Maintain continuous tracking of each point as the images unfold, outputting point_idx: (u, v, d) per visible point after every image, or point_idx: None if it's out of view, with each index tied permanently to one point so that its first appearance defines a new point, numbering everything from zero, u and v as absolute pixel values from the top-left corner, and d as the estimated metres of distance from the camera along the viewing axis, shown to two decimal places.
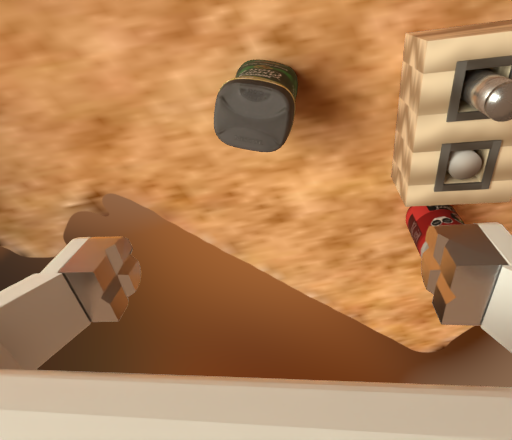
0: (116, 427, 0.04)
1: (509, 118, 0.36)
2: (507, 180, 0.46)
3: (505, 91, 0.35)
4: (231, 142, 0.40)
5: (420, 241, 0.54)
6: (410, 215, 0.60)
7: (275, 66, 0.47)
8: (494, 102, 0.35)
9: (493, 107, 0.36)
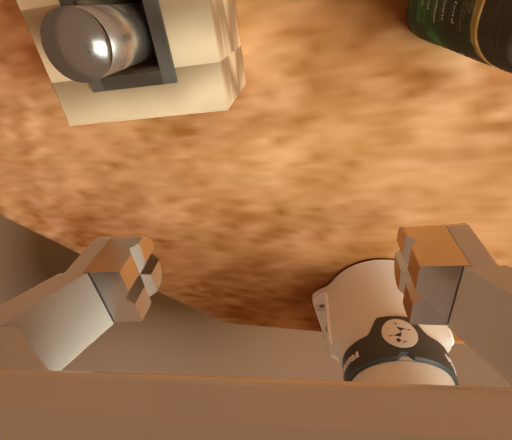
0: (116, 427, 0.04)
1: (52, 14, 0.19)
2: None
3: (90, 67, 0.20)
4: None
5: None
6: None
7: None
8: (95, 46, 0.20)
9: (91, 36, 0.19)
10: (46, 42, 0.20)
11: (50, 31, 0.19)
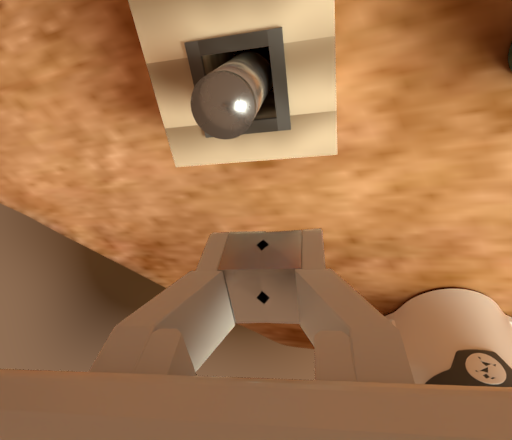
0: (116, 427, 0.04)
1: (207, 79, 0.20)
2: None
3: (234, 126, 0.21)
4: None
5: None
6: None
7: None
8: (243, 107, 0.20)
9: (242, 98, 0.20)
10: (195, 103, 0.21)
11: (201, 94, 0.20)
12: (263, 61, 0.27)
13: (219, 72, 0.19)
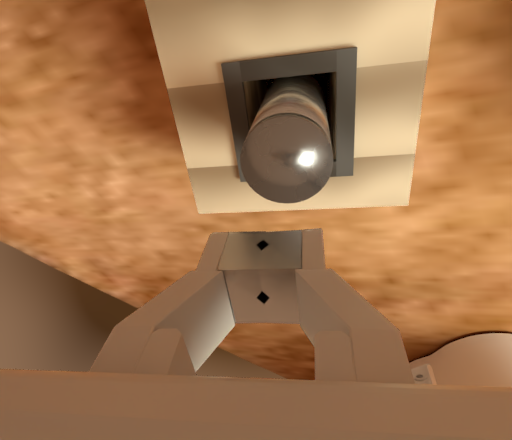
0: (116, 427, 0.04)
1: (268, 125, 0.14)
2: None
3: (299, 187, 0.15)
4: None
5: None
6: None
7: None
8: (316, 164, 0.14)
9: (316, 153, 0.14)
10: (247, 157, 0.15)
11: (258, 145, 0.14)
12: (317, 86, 0.21)
13: (287, 117, 0.13)
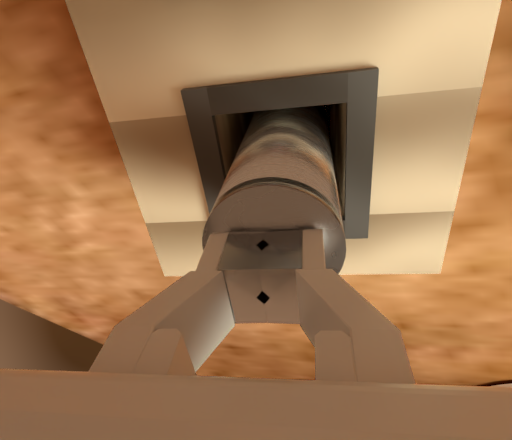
0: (116, 427, 0.04)
1: (243, 199, 0.09)
2: None
3: None
4: None
5: None
6: None
7: None
8: None
9: None
10: None
11: (228, 225, 0.09)
12: (318, 113, 0.16)
13: (272, 187, 0.08)
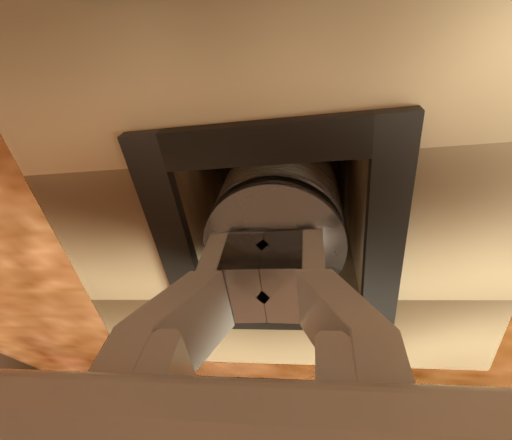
0: (116, 427, 0.04)
1: (244, 198, 0.09)
2: None
3: None
4: None
5: None
6: None
7: None
8: None
9: None
10: None
11: (229, 224, 0.09)
12: None
13: (274, 186, 0.08)
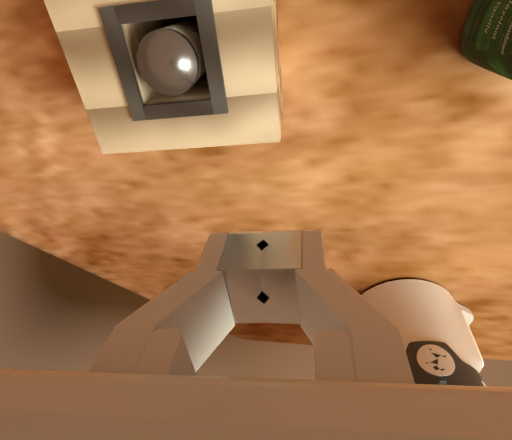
0: (116, 427, 0.04)
1: (151, 35, 0.21)
2: None
3: (178, 82, 0.23)
4: None
5: None
6: None
7: None
8: (186, 65, 0.22)
9: (184, 56, 0.22)
10: (141, 60, 0.22)
11: (146, 50, 0.22)
12: None
13: (162, 29, 0.21)
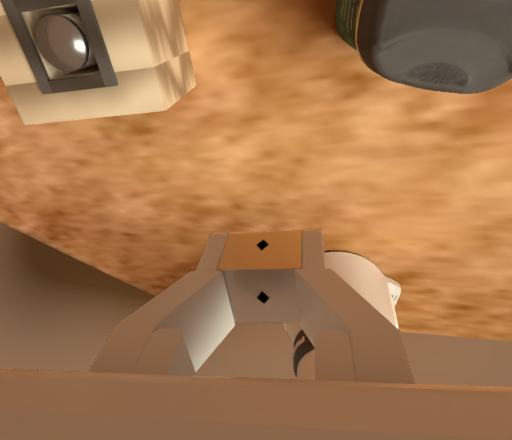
0: (116, 427, 0.04)
1: (44, 21, 0.26)
2: None
3: (72, 60, 0.27)
4: None
5: None
6: None
7: None
8: (76, 44, 0.27)
9: (73, 37, 0.26)
10: (40, 41, 0.27)
11: (43, 33, 0.26)
12: None
13: (52, 15, 0.26)
